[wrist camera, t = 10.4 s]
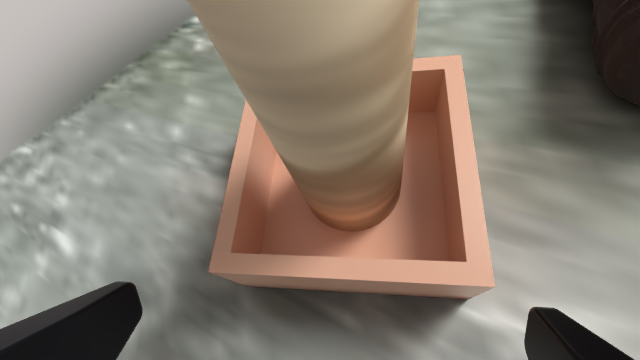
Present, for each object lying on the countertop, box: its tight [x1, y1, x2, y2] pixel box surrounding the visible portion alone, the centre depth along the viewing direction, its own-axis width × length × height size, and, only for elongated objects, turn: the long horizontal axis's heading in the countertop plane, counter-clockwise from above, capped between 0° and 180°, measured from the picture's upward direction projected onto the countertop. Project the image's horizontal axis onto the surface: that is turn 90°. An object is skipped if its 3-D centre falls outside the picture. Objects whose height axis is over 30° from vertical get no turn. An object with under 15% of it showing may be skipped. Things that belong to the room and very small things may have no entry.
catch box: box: [208, 55, 495, 299], centre depth 16 cm, size 11×11×4 cm
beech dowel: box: [188, 0, 419, 231], centre depth 11 cm, size 5×5×13 cm
